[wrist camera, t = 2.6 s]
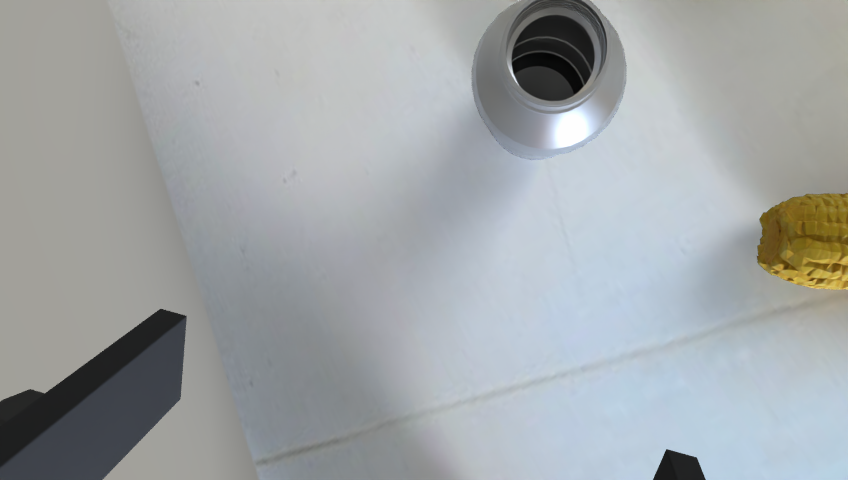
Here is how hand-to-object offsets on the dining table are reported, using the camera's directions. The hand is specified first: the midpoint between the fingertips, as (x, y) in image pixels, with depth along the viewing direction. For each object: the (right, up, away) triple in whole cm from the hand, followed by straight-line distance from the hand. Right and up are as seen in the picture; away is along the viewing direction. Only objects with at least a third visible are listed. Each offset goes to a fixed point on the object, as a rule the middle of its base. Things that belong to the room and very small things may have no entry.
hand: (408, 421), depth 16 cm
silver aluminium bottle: (+8, +13, +23) cm, 28 cm away
